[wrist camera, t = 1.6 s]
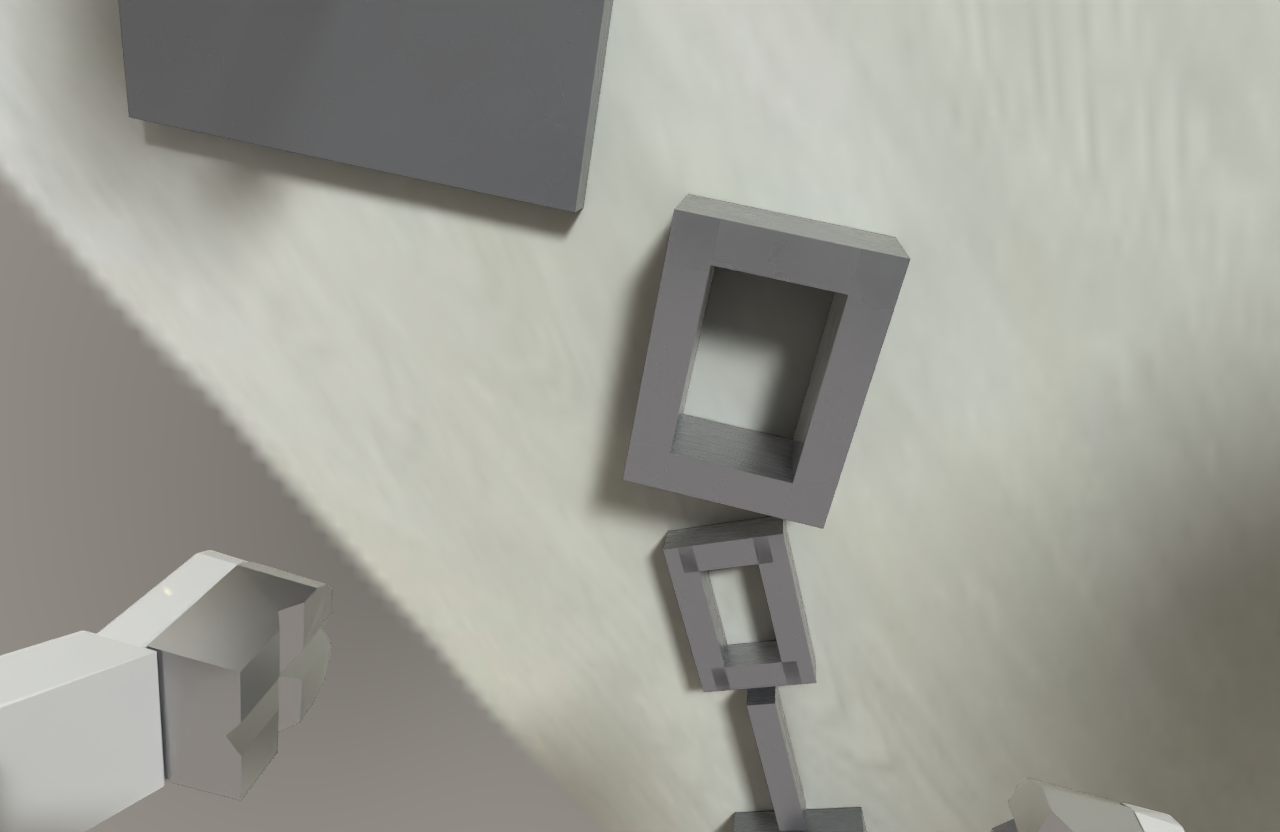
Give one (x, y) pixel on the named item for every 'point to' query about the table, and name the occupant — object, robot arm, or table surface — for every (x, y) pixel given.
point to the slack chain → (754, 656)
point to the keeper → (384, 84)
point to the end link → (850, 346)
